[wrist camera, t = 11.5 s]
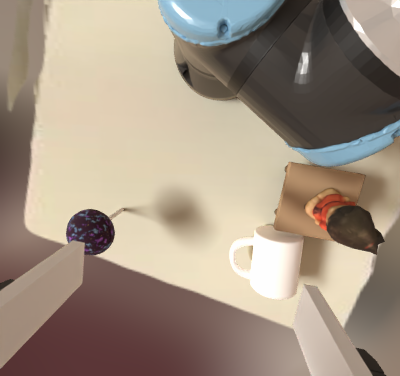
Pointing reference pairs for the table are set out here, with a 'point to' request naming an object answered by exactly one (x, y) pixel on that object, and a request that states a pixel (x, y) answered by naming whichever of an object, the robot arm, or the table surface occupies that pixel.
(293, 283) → the mug
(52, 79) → the table surface
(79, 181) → the table surface
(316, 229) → the tan legged square part
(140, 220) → the table surface
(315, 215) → the figurine
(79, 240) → the lollipop
